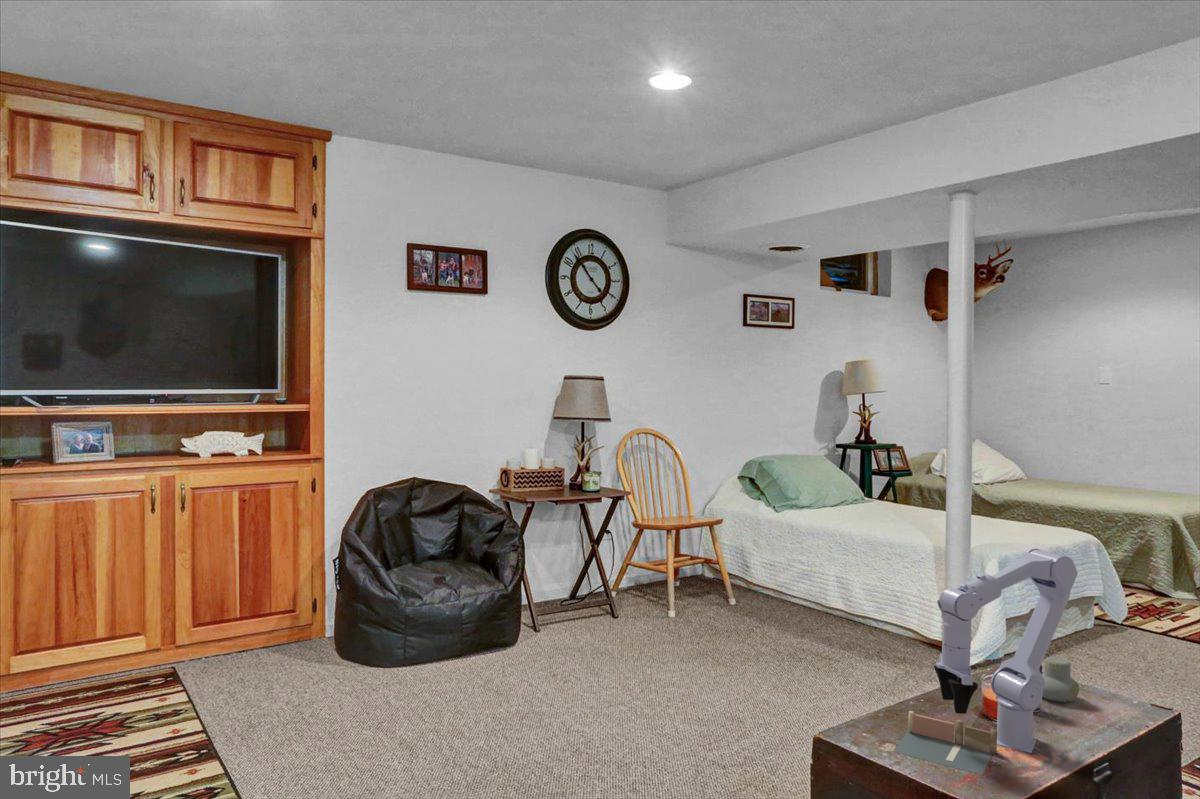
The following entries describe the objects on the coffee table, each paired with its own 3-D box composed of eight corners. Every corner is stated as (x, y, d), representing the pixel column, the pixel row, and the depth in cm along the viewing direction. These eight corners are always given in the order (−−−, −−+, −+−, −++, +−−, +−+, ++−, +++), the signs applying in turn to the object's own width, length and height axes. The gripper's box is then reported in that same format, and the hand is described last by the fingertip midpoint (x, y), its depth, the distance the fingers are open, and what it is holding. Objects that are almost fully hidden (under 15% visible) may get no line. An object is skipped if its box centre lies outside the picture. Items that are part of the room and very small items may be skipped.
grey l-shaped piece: (1065, 708, 212) (1066, 669, 212) (1030, 698, 219) (1032, 660, 218) (1081, 698, 220) (1082, 660, 219) (1047, 689, 226) (1049, 652, 226)
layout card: (909, 730, 196) (909, 728, 196) (994, 751, 186) (994, 749, 186) (892, 753, 184) (892, 751, 184) (982, 776, 174) (982, 774, 174)
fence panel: (953, 740, 189) (954, 721, 189) (952, 742, 188) (953, 722, 188) (908, 729, 195) (909, 710, 195) (907, 731, 194) (908, 712, 194)
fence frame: (955, 741, 189) (956, 719, 189) (997, 752, 185) (997, 729, 185) (954, 744, 188) (955, 721, 188) (995, 754, 183) (996, 731, 183)
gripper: (926, 633, 193) (924, 692, 193) (949, 654, 178) (947, 718, 178) (958, 635, 192) (956, 694, 193) (983, 656, 178) (981, 720, 178)
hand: (954, 706), depth 185 cm, fingers open, 7 cm apart
